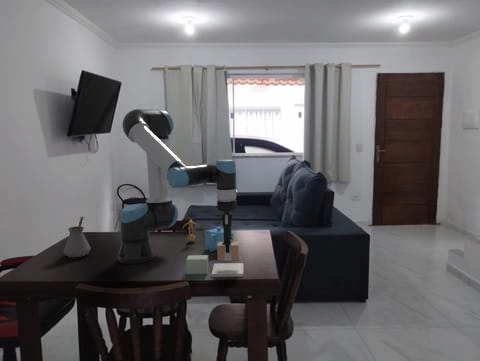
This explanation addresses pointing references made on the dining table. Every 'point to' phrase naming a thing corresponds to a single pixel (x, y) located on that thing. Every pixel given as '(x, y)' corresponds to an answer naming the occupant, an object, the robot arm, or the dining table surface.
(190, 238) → the figurine
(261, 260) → the dining table surface
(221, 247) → the terracotta brick
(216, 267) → the base plate
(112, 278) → the dining table surface
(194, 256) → the sage brick
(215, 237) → the teapot
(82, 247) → the coffee pot
